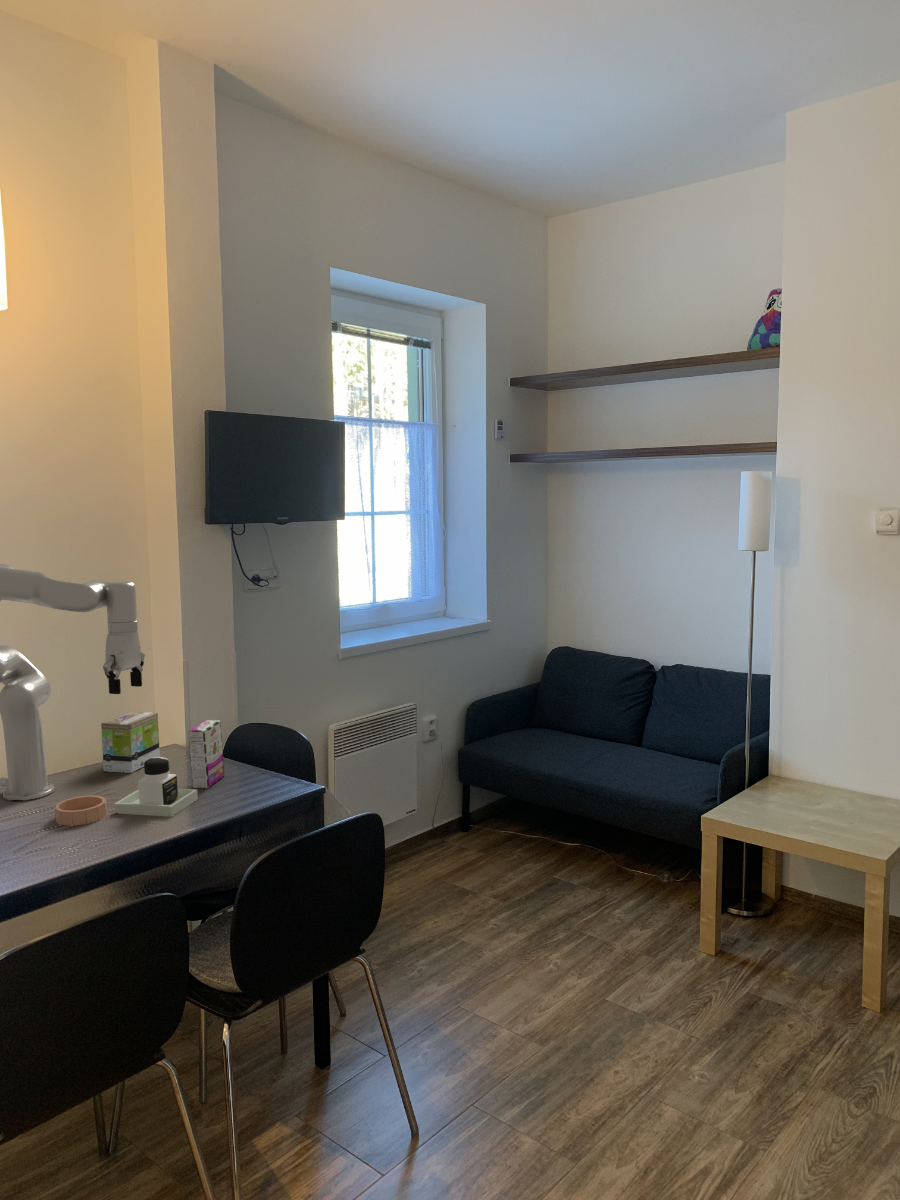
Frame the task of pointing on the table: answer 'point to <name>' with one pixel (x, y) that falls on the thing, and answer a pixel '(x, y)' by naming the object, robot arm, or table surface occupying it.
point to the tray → (133, 807)
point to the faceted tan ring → (81, 810)
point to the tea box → (129, 741)
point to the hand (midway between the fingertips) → (125, 689)
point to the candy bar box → (206, 753)
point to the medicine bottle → (158, 783)
